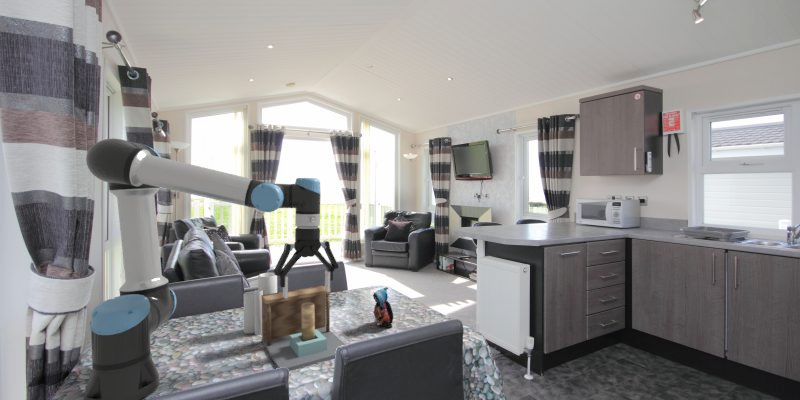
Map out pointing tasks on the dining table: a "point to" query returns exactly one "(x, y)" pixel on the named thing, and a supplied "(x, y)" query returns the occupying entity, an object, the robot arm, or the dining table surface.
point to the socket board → (291, 357)
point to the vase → (257, 302)
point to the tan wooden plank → (293, 312)
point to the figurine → (382, 309)
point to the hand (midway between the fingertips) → (307, 293)
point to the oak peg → (308, 321)
